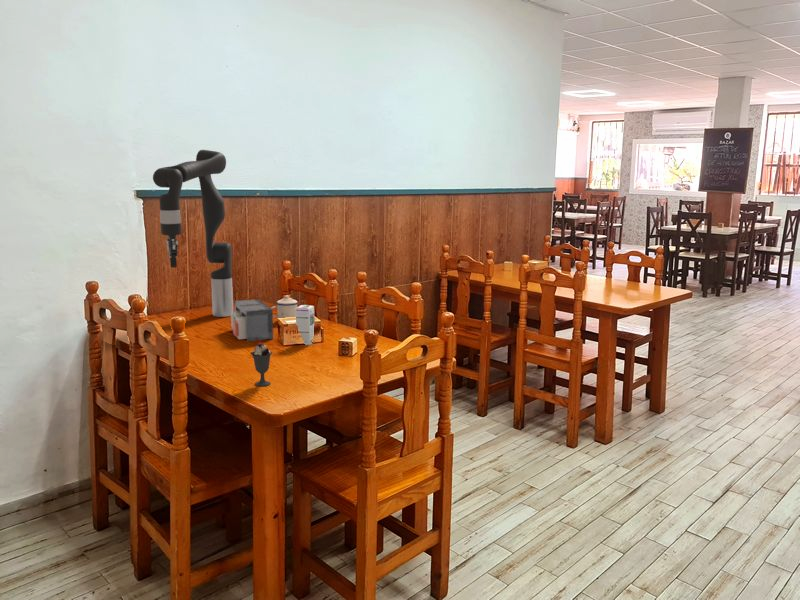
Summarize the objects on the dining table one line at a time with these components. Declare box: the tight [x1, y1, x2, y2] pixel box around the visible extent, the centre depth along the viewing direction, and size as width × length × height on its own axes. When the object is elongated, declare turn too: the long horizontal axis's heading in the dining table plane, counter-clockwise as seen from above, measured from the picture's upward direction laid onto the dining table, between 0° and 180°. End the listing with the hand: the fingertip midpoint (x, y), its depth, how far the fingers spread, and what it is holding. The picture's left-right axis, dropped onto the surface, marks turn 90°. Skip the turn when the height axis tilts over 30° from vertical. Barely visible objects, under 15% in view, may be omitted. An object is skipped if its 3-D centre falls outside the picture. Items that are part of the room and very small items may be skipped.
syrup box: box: [295, 304, 316, 346], centre depth 249 cm, size 6×6×14 cm
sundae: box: [249, 337, 273, 387], centre depth 200 cm, size 7×7×15 cm
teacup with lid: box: [270, 295, 299, 319], centre depth 284 cm, size 12×9×12 cm
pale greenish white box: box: [230, 310, 240, 329], centre depth 266 cm, size 5×9×8 cm, turn 115°
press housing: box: [234, 298, 274, 342], centre depth 262 cm, size 23×10×12 cm, turn 25°
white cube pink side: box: [232, 316, 247, 340], centre depth 256 cm, size 5×9×8 cm, turn 115°
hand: (173, 267), depth 249 cm, fingers closed
